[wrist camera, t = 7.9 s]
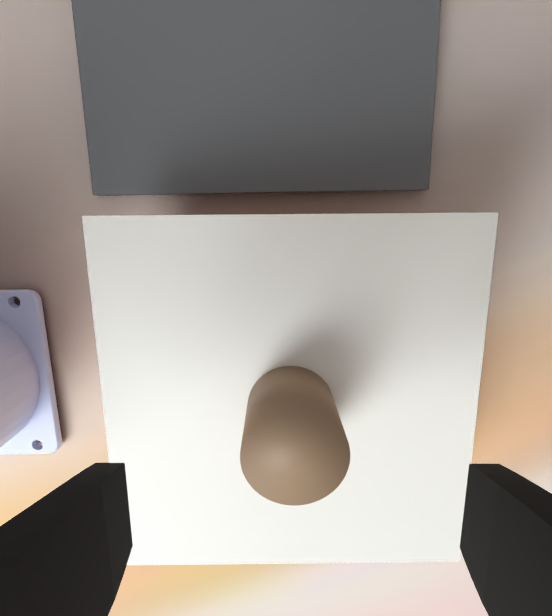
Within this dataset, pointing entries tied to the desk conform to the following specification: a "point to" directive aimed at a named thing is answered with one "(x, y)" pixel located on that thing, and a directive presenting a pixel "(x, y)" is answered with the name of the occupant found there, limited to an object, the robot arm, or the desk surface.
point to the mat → (257, 94)
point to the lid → (291, 381)
